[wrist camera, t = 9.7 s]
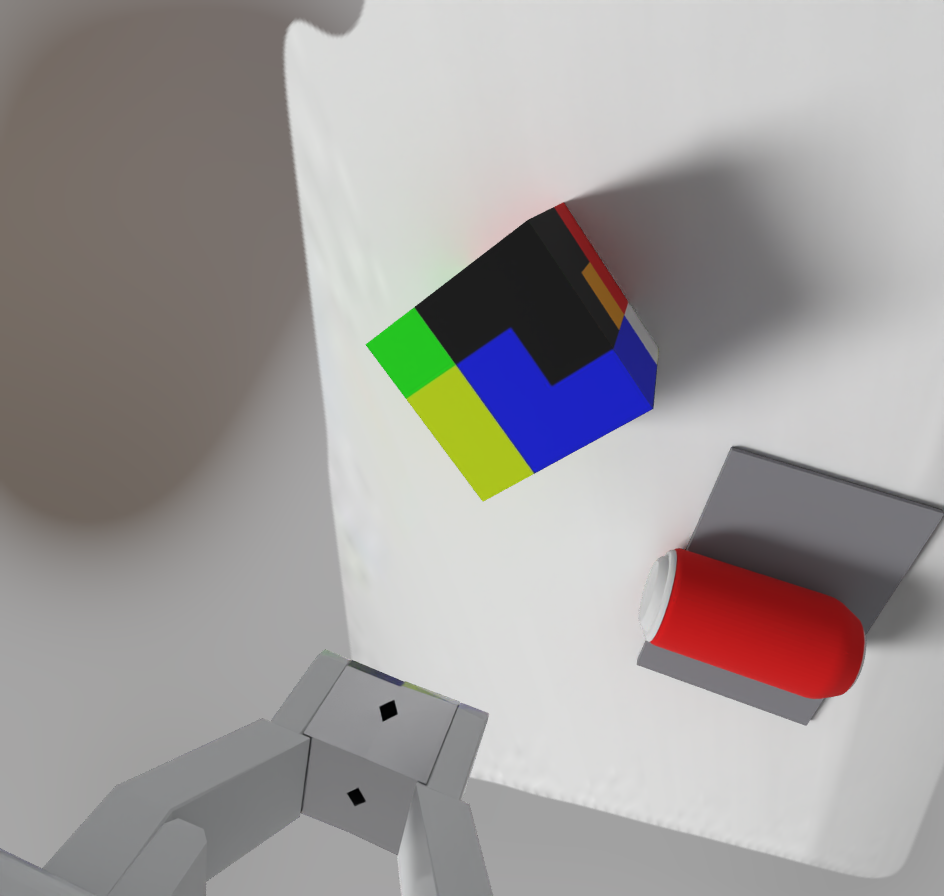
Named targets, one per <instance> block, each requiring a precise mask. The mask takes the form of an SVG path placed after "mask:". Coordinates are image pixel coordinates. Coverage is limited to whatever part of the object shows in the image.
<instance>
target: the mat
mask: <svg viewBox="0 0 944 896" xmlns="http://www.w3.org/2000/svg"><path fill="white" fill-rule="evenodd" d="M943 516H944V513H943V511H942V510H941V509H937V508H934V507H931V506H927V505H924V504H921V503H917V502H914V501H911V500H907V499H904V498H901V497H897V496H894V495H891V494H887V493H884V492H881V491H877V490H874V489H871V488H867V487H864V486H860V485H857V484H854V483H850V482H847V481H844V480H840V479H837V478H834V477H830V476H827V475H824V474H820V473H817V472H814V471H810V470H807V469H804V468H800V467H797V466H794V465H790V464H787V463H784V462H780V461H777V460H774V459H770V458H767V457H764V456H760V455H757V454H754V453H750V452H747V451H744V450H740V449H737V448H734V447H731V449H730V451H729V453H728V456H727V458H726V460H725V462H724V465H723V467H722V469H721V472H720V474H719V476H718V478H717V481H716V483H715V485H714V487H713V490H712V492H711V494H710V496H709V499H708V501H707V503H706V505H705V508H704V510H703V512H702V515H701V517H700V519H699V521H698V524H697V526H696V528H695V530H694V533H693V535H692V537H691V539H690V542H689V544H688V546H687V548H686V550H687V551H690V552H693V553H697V554H700V555H703V556H706V557H709V558H712V559H715V560H719V561H722V562H725V563H728V564H731V565H734V566H737V567H741V568H744V569H747V570H750V571H753V572H756V573H759V574H763V575H766V576H769V577H772V578H775V579H778V580H781V581H785V582H788V583H791V584H794V585H797V586H800V587H803V588H807V589H810V590H813V591H816V592H819V593H822V594H825V595H828V596H831V597H834V598H835V599H837V600H839V601H840V602H842V603H843V604H844V605H845V606H846V607H847V608H848V609H849V610H850V611H851V612H852V613H853V614H854V615H855V616H856V617H857V618H858V619H859V620H860V622H861V624H862V626H863V629H864V632H865V635H866V634H867V632H868V631H869V629H870V627H871V626H872V624H873V623H874V621H875V620H876V618H877V617H878V615H879V614H880V612H881V611H882V609H883V608H884V606H885V605H886V603H887V601H888V600H889V598H890V597H891V595H892V594H893V592H894V591H895V589H896V588H897V586H898V585H899V583H900V582H901V580H902V578H903V577H904V575H905V574H906V572H907V571H908V569H909V568H910V566H911V565H912V563H913V562H914V560H915V559H916V557H917V556H918V554H919V552H920V551H921V549H922V548H923V546H924V545H925V543H926V542H927V540H928V539H929V537H930V536H931V534H932V533H933V531H934V529H935V528H936V526H937V525H938V523H939V522H940V520H941V519H942V517H943ZM637 665H639V666H642V667H645V668H647V669H650V670H653V671H656V672H659V673H661V674H664V675H667V676H670V677H672V678H675V679H678V680H681V681H684V682H686V683H689V684H692V685H695V686H697V687H700V688H703V689H706V690H708V691H711V692H714V693H717V694H720V695H722V696H725V697H728V698H731V699H733V700H736V701H739V702H742V703H744V704H747V705H750V706H753V707H756V708H758V709H761V710H764V711H767V712H769V713H772V714H775V715H778V716H781V717H783V718H786V719H789V720H792V721H794V722H797V723H800V724H803V725H805V726H806V725H807V724H808V722H809V721H810V719H811V718H812V716H813V715H814V713H815V712H816V710H817V709H818V707H819V706H820V704H821V702H822V701H823V699H824V698H822V699H810V698H806V697H802V696H799V695H797V694H794V693H791V692H788V691H785V690H782V689H779V688H776V687H773V686H770V685H768V684H765V683H762V682H759V681H756V680H753V679H750V678H747V677H744V676H742V675H739V674H736V673H733V672H730V671H727V670H724V669H721V668H718V667H715V666H713V665H710V664H707V663H704V662H701V661H698V660H695V659H692V658H689V657H686V656H684V655H681V654H678V653H675V652H672V651H669V650H666V649H663V648H660V647H658V646H655V645H653V644H651V643H650V642H648V641H647V640H646V641H645V643H644V646H643V648H642V650H641V653H640V655H639V657H638V659H637Z"/></svg>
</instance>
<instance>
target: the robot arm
mask: <svg viewBox="0 0 944 896" xmlns="http://www.w3.org/2000/svg"><path fill="white" fill-rule="evenodd" d="M488 716H489V713H486V712H484V711H481V710H479V709H476V708H474V707H471V706H468V705H466V704H463V703H460V702H459V701H457V700H454V699H451V698H449V697H446V696H443V695H441V694H438V693H435V692H433V691H430V690H427V689H425V688H422V687H419V686H416V685H414V684H411V683H408V682H403V681H401V680H399V679H396V678H394V677H391V676H389V675H387V674H384V673H382V672H379V671H377V670H375V669H372V668H370V667H368V666H365V665H363V664H360V663H358V662H356V661H353V660H350V659H348V658H345V657H342V656H340V655H338V654H336V653H333V652H331V651H328V650H326V649H325V650H324V651H323V652H321V653H320V654H319V655H318V656H317V657H316V658H315V660H314V661H313V663H312V664H311V665H310V667H309V668H308V670H307V671H306V673H305V674H304V675H303V677H302V678H301V679H300V681H299V682H298V684H297V685H296V686H295V688H294V689H293V691H292V692H291V693H290V695H289V696H288V698H287V699H286V700H285V702H284V703H283V705H282V706H281V707H280V709H279V710H278V711H277V713H276V714H275V716H274V717H273V718H272V720H271V721H269V720H266V719H263V718H262V719H260V720H257V721H255V722H253V723H251V724H249V725H247V726H244V727H242V728H240V729H238V730H236V731H234V732H231V733H229V734H227V735H225V736H223V737H221V738H218V739H216V740H214V741H212V742H210V743H208V744H206V745H203V746H201V747H199V748H197V749H195V750H192V751H190V752H188V753H186V754H184V755H182V756H179V757H177V758H175V759H173V760H171V761H169V762H166V763H164V764H162V765H160V766H158V767H156V768H153V769H151V770H149V771H147V772H145V773H143V774H140V775H138V776H136V777H134V778H132V779H130V780H127V781H126V782H123V783H121V784H119V785H117V786H115V788H113V790H112V791H111V792H110V793H109V794H108V795H107V796H106V798H105V799H104V800H103V801H102V802H101V803H100V804H99V805H98V806H97V808H96V809H95V810H94V811H93V812H92V813H91V814H90V815H89V816H88V818H87V819H86V820H85V821H84V822H83V823H82V824H81V825H80V827H79V828H78V829H77V830H76V831H75V833H73V834H72V836H71V837H70V838H69V839H68V840H67V841H66V842H65V843H64V845H63V846H62V847H61V848H60V849H59V850H58V851H57V852H56V854H55V855H54V856H53V857H52V858H51V859H50V860H49V861H48V863H47V864H46V865H45V866H44V867H43V868H40V867H38V866H36V865H34V864H32V863H30V862H27V861H25V860H23V859H21V858H19V857H17V856H15V855H13V854H11V853H9V852H7V851H5V850H3V849H1V848H0V896H206V881H208V880H209V879H211V878H212V877H214V876H215V875H216V874H218V873H219V872H221V871H222V870H224V869H225V868H227V867H228V866H230V865H231V864H232V863H234V862H235V861H237V860H238V859H240V858H241V857H242V856H244V855H245V854H247V853H248V852H250V851H251V850H252V849H254V848H255V847H257V846H258V845H260V844H261V843H263V842H264V841H265V840H267V839H268V838H269V837H271V836H272V835H274V834H276V833H277V832H278V831H280V830H281V829H283V828H284V827H285V826H287V825H289V824H290V823H291V822H293V821H294V820H296V819H297V818H299V817H300V813H302V814H305V815H307V816H310V817H312V818H315V819H317V820H320V821H322V822H324V823H327V824H329V825H332V826H334V827H337V828H340V829H342V830H345V831H347V832H350V833H352V834H354V835H356V836H358V837H360V838H362V839H364V840H366V841H369V842H371V843H373V844H375V845H377V846H379V847H381V848H383V849H386V850H388V851H390V852H392V853H394V854H396V855H398V858H397V860H398V870H399V879H400V888H401V896H493V893H492V889H491V885H490V881H489V878H488V874H487V870H486V866H485V862H484V859H483V855H482V851H481V847H480V844H479V839H478V835H477V831H476V828H475V824H474V820H473V816H472V812H471V808H470V805H469V804H468V803H466V802H464V801H462V799H463V796H464V793H465V790H466V787H467V784H468V781H469V778H470V774H471V771H472V768H473V765H474V762H475V759H476V755H477V752H478V749H479V746H480V743H481V739H482V736H483V733H484V730H485V727H486V724H487V720H488Z"/></svg>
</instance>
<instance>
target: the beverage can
mask: <svg viewBox="0 0 944 896" xmlns="http://www.w3.org/2000/svg"><path fill="white" fill-rule="evenodd" d="M638 619H639V623H640V626H641V628H642V629H643V634H644V637H645V639H646V640H647V641H648V642H650V643H651V644H653V645H655V646H658V647H660V648H663V649H666V650H669V651H672V652H675V653H678V654H681V655H684V656H686V657H689V658H692V659H695V660H698V661H701V662H704V663H707V664H710V665H713V666H715V667H718V668H721V669H724V670H727V671H730V672H733V673H736V674H739V675H742V676H744V677H747V678H750V679H753V680H756V681H759V682H762V683H765V684H768V685H770V686H773V687H776V688H779V689H782V690H785V691H788V692H791V693H794V694H797V695H799V696H802V697H806V698H810V699H822V698H828V697H833V696H839V695H842V694H844V693H845V692H846V691H848V690H849V689H850V688H851V687H852V686H853V685H854V683H855V682H856V680H857V679H858V677H859V675H860V672H861V670H862V667H863V663H864V659H865V652H866V637H865V632H864V629H863V626H862V624H861V622H860V620H859V619H858V618H857V617H856V616H855V615H854V614H853V613H852V612H851V611H850V610H849V609H848V608H847V607H846V606H845V605H844V604H843V603H842V602H840V601H839V600H837V599H835V598H834V597H831V596H828V595H825V594H822V593H819V592H816V591H813V590H810V589H807V588H803V587H800V586H797V585H794V584H791V583H788V582H785V581H781V580H778V579H775V578H772V577H769V576H766V575H763V574H759V573H756V572H753V571H750V570H747V569H744V568H741V567H737V566H734V565H731V564H728V563H725V562H722V561H719V560H715V559H712V558H709V557H706V556H703V555H700V554H697V553H693V552H690V551H687V550H684V549H680V548H678V549H674V550H670V551H668V552H667V553H666V554H665V556H663V557H660V558H659V559H658V560H657V561H656V562H655V563H654V565H653V567H652V569H651V571H650V573H649V576H648V578H647V581H646V584H645V588H644V591H643V595H642V599H641V603H640V608H639V616H638Z"/></svg>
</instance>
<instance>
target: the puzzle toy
mask: <svg viewBox="0 0 944 896" xmlns="http://www.w3.org/2000/svg"><path fill="white" fill-rule="evenodd" d="M366 346H367V347H368V349H369V350H370V351H371V353H372V354H373V355H374V357H375V358H376V359H377V361H378V362H379V363H380V365H381V366H382V367H383V369H384V370H385V371H386V373H387V374H388V375H389V377H390V378H391V379H392V381H393V382H394V383H395V385H396V386H397V387H398V389H399V390H400V391H401V393H402V394H403V395H404V397H405V398H406V399H407V401H408V402H409V403H410V405H411V406H412V407H413V409H414V410H415V411H416V413H417V414H418V415H419V417H420V418H421V419H422V421H423V422H424V424H425V425H426V426H427V428H428V429H429V430H430V432H431V433H432V434H433V436H434V437H435V438H436V440H437V441H438V442H439V444H440V445H441V446H442V448H443V449H444V450H445V452H446V453H447V454H448V456H449V457H450V458H451V460H452V461H453V462H454V464H455V465H456V466H457V468H458V469H459V470H460V472H461V473H462V474H463V476H464V477H465V478H466V480H467V481H468V482H469V484H470V485H471V486H472V488H473V489H474V490H475V492H476V493H477V494H478V496H479V497H480V499H481V500H482V501H485V500H487V499H489V498H491V497H492V496H494V495H496V494H498V493H500V492H502V491H503V490H505V489H507V488H509V487H511V486H513V485H514V484H516V483H518V482H520V481H522V480H524V479H525V478H527V477H529V476H531V475H533V474H535V473H536V472H538V471H540V470H542V469H544V468H546V467H547V466H549V465H551V464H553V463H555V462H557V461H558V460H560V459H562V458H564V457H566V456H568V455H569V454H571V453H573V452H575V451H577V450H579V449H580V448H582V447H584V446H586V445H588V444H590V443H591V442H593V441H595V440H597V439H599V438H601V437H602V436H604V435H606V434H608V433H610V432H612V431H613V430H615V429H617V428H619V427H621V426H623V425H624V424H626V423H628V422H630V421H632V420H634V419H635V418H637V417H639V416H641V415H643V414H645V413H646V412H648V411H650V410H652V409H653V406H654V395H655V385H656V375H657V364H658V354H659V349H658V347H657V345H656V344H655V342H654V341H653V339H652V338H651V336H650V335H649V333H648V332H647V330H646V328H645V327H644V325H643V324H642V322H641V321H640V319H639V318H638V316H637V315H636V313H635V311H634V310H633V308H632V307H631V305H630V304H629V302H628V301H627V299H626V298H625V296H624V295H623V293H622V291H621V290H620V288H619V287H618V285H617V284H616V282H615V281H614V279H613V278H612V276H611V274H610V273H609V271H608V270H607V268H606V267H605V265H604V264H603V262H602V261H601V259H600V257H599V256H598V254H597V253H596V251H595V250H594V248H593V247H592V245H591V244H590V242H589V241H588V239H587V237H586V236H585V234H584V233H583V231H582V230H581V228H580V227H579V225H578V224H577V222H576V220H575V219H574V217H573V216H572V214H571V213H570V211H569V210H568V208H567V207H566V205H565V203H564V202H563V203H561V204H559V205H557V206H555V207H553V208H551V209H549V210H547V211H545V212H543V213H541V214H539V215H537V216H535V217H533V218H531V219H529V220H527V221H526V222H525V223H523V224H522V225H521V226H519V227H518V228H517V229H515V230H514V231H513V232H512V233H510V234H509V235H508V236H506V237H505V238H504V239H502V240H501V241H500V242H499V243H497V244H496V245H495V246H493V247H492V248H491V249H489V250H488V251H487V252H486V253H484V254H483V255H482V256H480V257H479V258H478V259H476V260H475V261H474V262H473V263H471V264H470V265H469V266H467V267H466V268H465V269H463V270H462V271H461V272H459V273H458V274H457V275H456V276H454V277H453V278H452V279H450V280H449V281H448V282H446V283H445V284H444V285H443V286H441V287H440V288H439V289H437V290H436V291H435V292H433V293H432V294H431V295H430V296H428V297H427V298H426V299H424V300H423V301H422V302H420V303H419V304H418V305H417V306H415V307H414V308H413V309H411V310H410V311H409V312H407V313H406V314H405V315H404V316H402V317H401V318H400V319H398V320H397V321H396V322H394V323H393V324H392V325H391V326H389V327H388V328H387V329H385V330H384V331H383V332H381V333H380V334H379V335H378V336H376V337H375V338H374V339H372V340H371V341H370V342H368V343H367V344H366Z"/></svg>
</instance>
